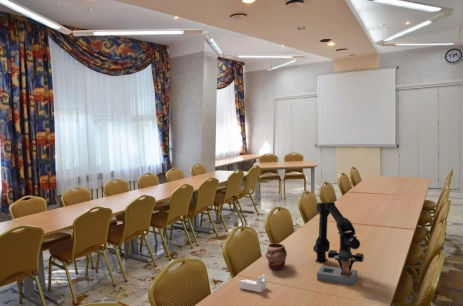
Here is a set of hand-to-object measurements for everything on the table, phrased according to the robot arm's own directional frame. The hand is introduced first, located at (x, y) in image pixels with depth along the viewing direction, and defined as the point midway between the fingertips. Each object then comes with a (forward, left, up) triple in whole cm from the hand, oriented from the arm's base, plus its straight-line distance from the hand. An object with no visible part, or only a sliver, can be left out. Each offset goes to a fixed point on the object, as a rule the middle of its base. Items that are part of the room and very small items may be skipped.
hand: (346, 270), depth 197 cm
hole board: (0, -5, -6) cm, 7 cm away
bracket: (+29, -45, -6) cm, 53 cm away
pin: (0, 0, -3) cm, 3 cm away
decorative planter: (-4, -43, -6) cm, 44 cm away
